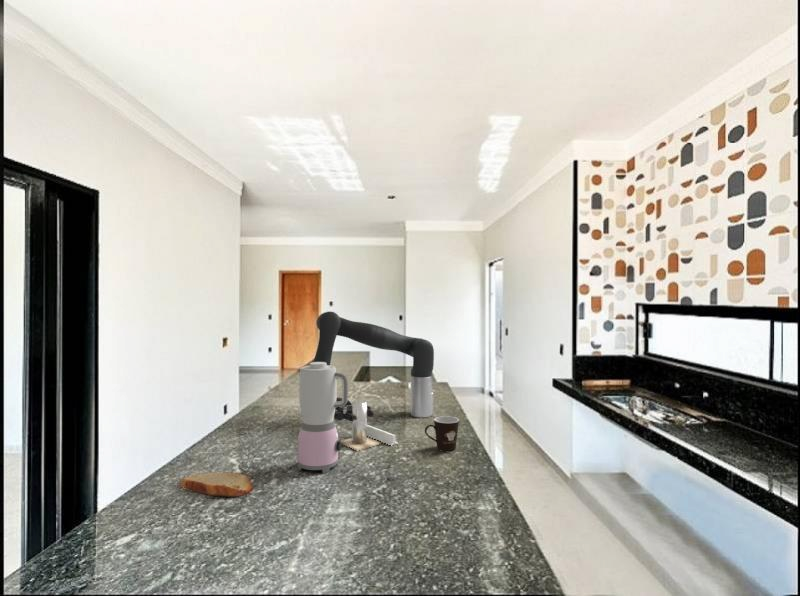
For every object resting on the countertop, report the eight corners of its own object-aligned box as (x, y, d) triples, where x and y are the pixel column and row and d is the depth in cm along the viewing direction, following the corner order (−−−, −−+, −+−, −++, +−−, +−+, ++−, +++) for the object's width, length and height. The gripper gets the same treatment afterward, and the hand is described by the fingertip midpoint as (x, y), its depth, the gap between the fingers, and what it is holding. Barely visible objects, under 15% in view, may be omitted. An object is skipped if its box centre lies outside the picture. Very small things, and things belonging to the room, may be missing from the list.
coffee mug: (458, 444, 163) (458, 416, 163) (459, 453, 155) (459, 423, 155) (425, 443, 164) (425, 415, 164) (424, 452, 156) (424, 422, 156)
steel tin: (361, 438, 168) (361, 399, 167) (369, 442, 164) (370, 402, 164) (349, 441, 164) (349, 402, 164) (357, 445, 160) (357, 404, 160)
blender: (290, 472, 138) (290, 365, 138) (306, 458, 150) (306, 359, 150) (341, 476, 135) (341, 367, 135) (353, 461, 147) (353, 361, 147)
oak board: (362, 437, 171) (362, 435, 171) (380, 444, 163) (380, 442, 163) (339, 443, 165) (339, 440, 165) (357, 451, 157) (357, 449, 157)
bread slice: (179, 483, 132) (179, 470, 132) (245, 472, 140) (245, 459, 140) (180, 509, 115) (180, 494, 115) (255, 495, 123) (255, 481, 123)
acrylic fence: (367, 432, 177) (367, 423, 177) (397, 444, 164) (397, 434, 164) (360, 434, 175) (360, 424, 175) (391, 446, 162) (391, 436, 162)
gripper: (321, 400, 170) (345, 408, 158) (353, 394, 179) (378, 402, 167) (321, 420, 170) (345, 430, 158) (353, 414, 179) (378, 423, 167)
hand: (362, 416), depth 162 cm, fingers open, 8 cm apart
